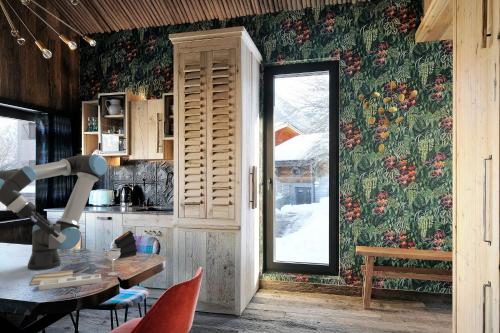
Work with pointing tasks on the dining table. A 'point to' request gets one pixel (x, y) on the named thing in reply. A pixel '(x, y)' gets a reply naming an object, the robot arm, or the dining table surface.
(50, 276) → the oak board
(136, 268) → the dining table surface
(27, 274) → the dining table surface
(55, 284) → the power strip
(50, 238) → the gray knobbed block
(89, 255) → the dining table surface
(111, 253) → the wineglass
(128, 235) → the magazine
